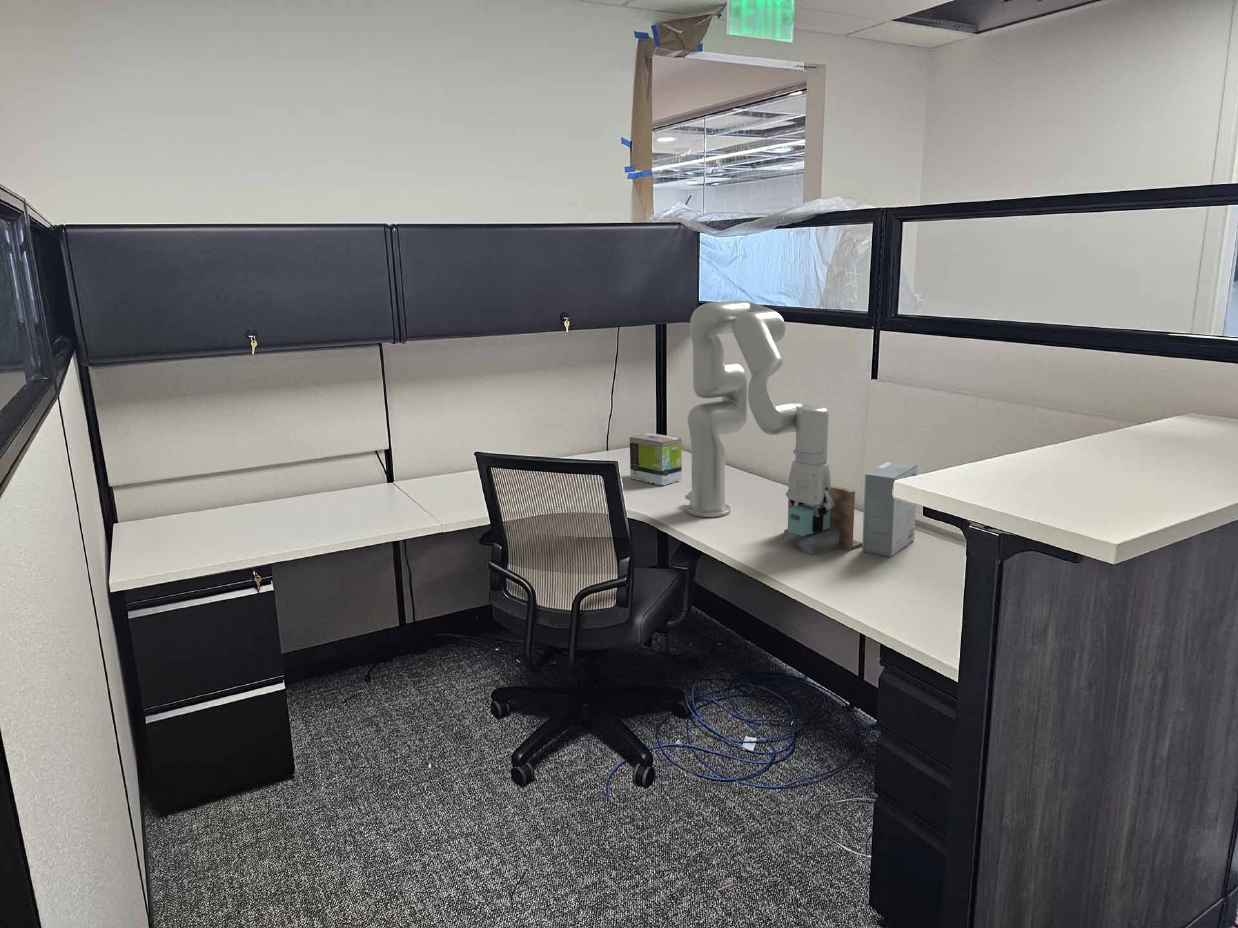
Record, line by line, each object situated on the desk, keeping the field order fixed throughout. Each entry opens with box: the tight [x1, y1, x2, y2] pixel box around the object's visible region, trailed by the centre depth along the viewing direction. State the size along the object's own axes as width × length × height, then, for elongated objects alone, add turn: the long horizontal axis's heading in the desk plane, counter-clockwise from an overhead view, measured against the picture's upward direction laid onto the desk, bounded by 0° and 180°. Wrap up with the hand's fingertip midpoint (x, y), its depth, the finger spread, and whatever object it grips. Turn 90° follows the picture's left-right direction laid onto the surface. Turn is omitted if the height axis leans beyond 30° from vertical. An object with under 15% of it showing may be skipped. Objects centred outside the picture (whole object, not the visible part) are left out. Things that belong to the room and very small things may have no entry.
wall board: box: [783, 475, 862, 557], centre depth 207 cm, size 20×14×15 cm
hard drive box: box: [861, 460, 918, 558], centre depth 203 cm, size 16×8×20 cm, turn 141°
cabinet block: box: [787, 503, 831, 536], centre depth 204 cm, size 5×11×6 cm, turn 126°
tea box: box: [629, 432, 683, 486], centre depth 272 cm, size 15×10×15 cm
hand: (808, 527), depth 204 cm, fingers closed on cabinet block, 4 cm apart
